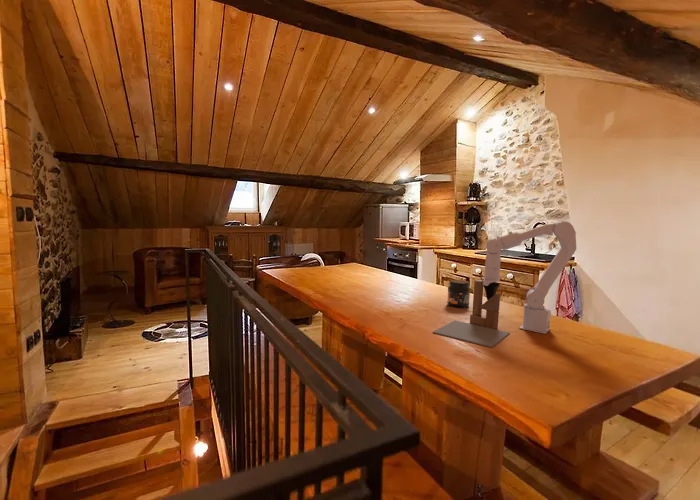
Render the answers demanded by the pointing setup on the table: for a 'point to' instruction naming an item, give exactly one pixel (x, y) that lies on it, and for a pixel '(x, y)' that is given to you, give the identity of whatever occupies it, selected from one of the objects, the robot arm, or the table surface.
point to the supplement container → (458, 293)
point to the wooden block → (489, 305)
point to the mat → (472, 333)
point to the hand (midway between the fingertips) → (490, 300)
